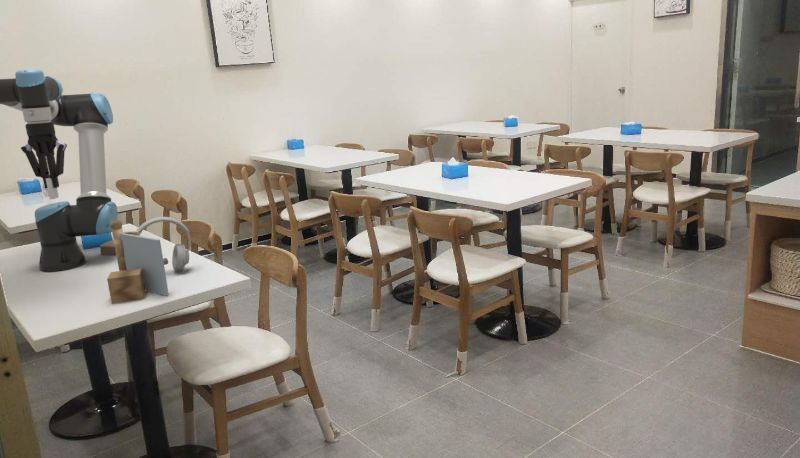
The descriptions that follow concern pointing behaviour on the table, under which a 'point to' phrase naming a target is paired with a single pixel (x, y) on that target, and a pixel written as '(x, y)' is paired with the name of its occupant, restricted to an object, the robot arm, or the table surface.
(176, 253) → the headphones
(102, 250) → the brick
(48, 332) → the table surface
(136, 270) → the walnut block
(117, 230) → the brown long wooden part
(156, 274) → the door
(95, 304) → the table surface
